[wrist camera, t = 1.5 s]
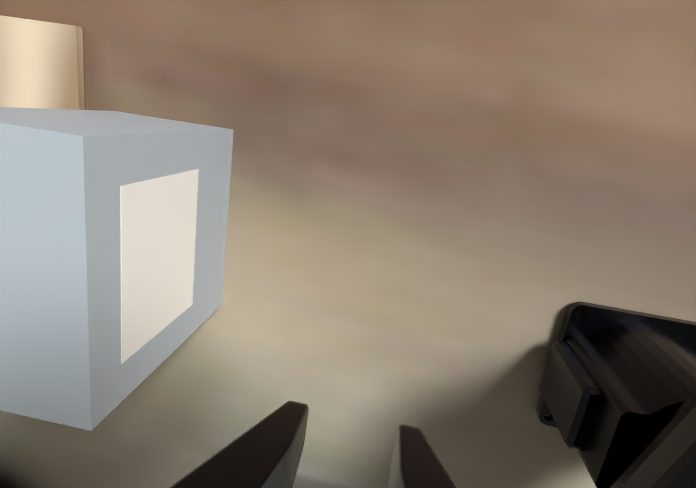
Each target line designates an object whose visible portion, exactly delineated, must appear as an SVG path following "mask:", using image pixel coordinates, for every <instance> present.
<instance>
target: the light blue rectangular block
mask: <svg viewBox="0 0 696 488" xmlns="http://www.w3.org/2000/svg"><path fill="white" fill-rule="evenodd" d="M232 146H233V129H226V128H220V127H213V126H207V125H200V124H194V123H187V122H181V121H175V120H168V119H162V118H155V117H149V116H142V115H136V114H130V113H123V112H117V111H97V110H70V109H43V108H16V107H0V411H5V412H9V413H14V414H18V415H22V416H27V417H31V418H36V419H40V420H44V421H49V422H53V423H58V424H62V425H66V426H71V427H75V428H80V429H84V430H88V431H92V430H93V429H94V428H95V427H96V426H97V425H98V424H99V423H100V422H101V421H102V420H103V419H104V418H105V417H106V416H107V415H109V414H110V413H111V412H112V411H113V410H114V409H115V408H116V407H117V406H118V405H119V404H120V403H121V402H122V401H123V400H124V399H125V398H126V397H127V396H128V395H129V394H130V393H131V392H132V391H133V390H134V389H135V388H136V387H137V386H138V385H139V384H141V383H142V382H143V381H144V380H145V379H146V378H147V377H148V376H149V375H150V374H151V373H152V372H153V371H154V370H155V369H156V368H157V367H158V366H159V365H160V364H161V363H162V362H163V361H164V360H165V359H166V358H167V357H168V356H169V355H170V354H171V353H173V352H174V351H175V350H176V349H177V348H178V347H179V346H180V345H181V344H182V343H183V342H184V341H185V340H186V339H187V338H188V337H189V336H190V335H191V334H192V333H193V332H194V331H195V330H196V329H197V328H198V327H199V326H200V325H201V324H202V323H204V322H205V321H206V320H207V319H208V318H209V317H210V316H211V315H212V314H213V313H214V312H215V311H216V310H217V309H218V308H219V307H220V306H221V305H222V298H223V283H224V268H225V252H226V237H227V222H228V207H229V191H230V176H231V161H232Z"/></svg>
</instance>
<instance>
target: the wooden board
mask: <svg viewBox="0 0 696 488" xmlns="http://www.w3.org/2000/svg"><path fill="white" fill-rule="evenodd" d="M0 107H16V108H43V109H70V110H85V103H84V66H83V30H82V28H81V27H78V26H72V25H65V24H58V23H50V22H43V21H36V20H29V19H21V18H14V17H7V16H0Z"/></svg>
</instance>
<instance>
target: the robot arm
mask: <svg viewBox="0 0 696 488" xmlns="http://www.w3.org/2000/svg"><path fill="white" fill-rule="evenodd" d="M580 310H585V313H584V315H583V316H581V317H577V316H576V314H577V312H578V311H580ZM539 389H540V391H541V393H542V395H541V398H540V401H539V405H538V408H537V414H538V417H539V419H540V421H541V422H542V423H543V424H545V425H549V426H554V427H558V429H559V431H560V433H561V435H562V437H563V439H564V441H565V443H566V444H567V446H568V447H569V448H570V449H574V450H578V452H579V454H580V456H581V458H582V460H583V462H584V464H585V466H586V468H587V470H588V472H589V474H590V476H591V478H592V480H593V481H594V483H595V485H596V487H597V488H696V322H692V321H686V320H680V319H675V318H669V317H664V316H658V315H653V314H647V313H641V312H636V311H630V310H625V309H619V308H614V307H608V306H602V305H597V304H591V303H586V302H576V303H573V304H572V305H571V306H570V307H569V309H568V311H567V314H566V318H565V321H564V324H563V327H562V330H561V334H560V337H559V340H558V341H556V342H555V343H554V344H552V347H551V350H550V353H549V356H548V360H547V363H546V366H545V369H544V373H543V376H542V379H541V382H540V386H539ZM308 410H309V408H308V405H307V404H303V403H298V402H294V401H288V402H286V403H285V404H284V405H282V406H281V407H280V408H278V409H277V410H275V411H274V412H273V413H271V414H270V415H269V416H267V417H266V418H264V419H263V420H262V421H260V422H259V423H258V424H256V425H255V426H253V427H252V428H251V429H249V430H248V431H247V432H245V433H244V434H242V435H241V436H240V437H238V438H237V439H235V440H234V441H233V442H231V443H230V444H229V445H227V446H226V447H224V448H223V449H222V450H220V451H219V452H218V453H216V454H215V455H213V456H212V457H211V458H209V459H208V460H207V461H205V462H204V463H202V464H201V465H200V466H198V467H197V468H195V469H194V470H193V471H191V472H190V473H189V474H187V475H186V476H184V477H183V478H182V479H180V480H179V481H178V482H176V483H175V484H173V485H172V486H171V487H169V488H292V487H293V483H294V479H295V476H296V472H297V468H298V465H299V461H300V457H301V454H302V450H303V446H304V440H305V433H306V426H307V418H308ZM548 412H551V415H549V416H545V414H546V413H548ZM388 488H456V487H455V485H454V484H453V482H452V480H451V479H450V477H449V475H448V474H447V472H446V470H445V469H444V467H443V466H442V464H441V462H440V461H439V459H438V457H437V456H436V454H435V452H434V451H433V449H432V448H431V446H430V444H429V443H428V441H427V439H426V438H425V436H424V434H423V433H422V431H421V430H420V429H419V428H417V427H413V426H408V425H403V424H401V425H399V426H398V429H397V433H396V438H395V443H394V448H393V453H392V458H391V463H390V471H389V481H388Z"/></svg>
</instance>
